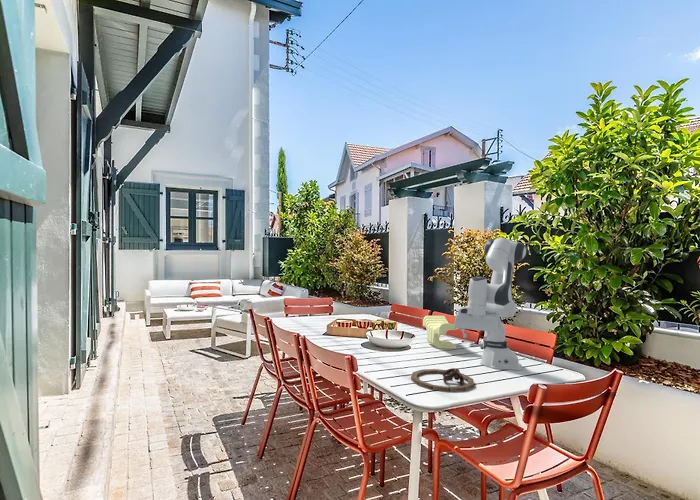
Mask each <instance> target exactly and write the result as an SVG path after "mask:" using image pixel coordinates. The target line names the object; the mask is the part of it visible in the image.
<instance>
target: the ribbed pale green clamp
mask: <svg viewBox="0 0 700 500" xmlns="http://www.w3.org/2000/svg"><path fill="white" fill-rule="evenodd" d="M422 327H425V329H426V336H427V337H426V341H427V342H428V343H429V344H430V345H431V346H433V347H434V348H436V349H457V346H456V344H454V343H453V342H452V341H449V340H440V337H441V336H446V335H447V333H448V331H457V330H462V329H461V328H455V326H454V323H449V321H448V320H447V318H446V316H445V315H425V316H424V317H423V319H422Z"/></svg>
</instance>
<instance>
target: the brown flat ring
mask: <svg viewBox="0 0 700 500" xmlns="http://www.w3.org/2000/svg"><path fill="white" fill-rule="evenodd" d="M447 370H448V369H441V368H440V369H439V368H429V369H419V370H416V371H412V374H411V376H410V380H411V382H413V383H414V384H415V385H417V386H420V387H422V388H426V389H429V390H433V391H441V392H446V393H447V392H448V393H449V392H451V393H455V392H467V391H469V390H471V389H474V387H475V385H474V384H475V383H474V381H475V380H474V379H473V378H472V377H470V376H469V375H466V374H465V373H461V372H460V373H461V374H462V376H463V379H464V382H467V383H466V384H465V385H462V384H461V385H454V386H447V385H440V384H439V385H437V384H432V383H428V382H426V381H423V380H421V379H420V378H418V377H419V376H422V375H426V374H427V375H428V374H432V375H433V374H440V375H443V374H444V372H445V371H447ZM450 374H452V372H450V373H448V374H447V375H450ZM444 375H445V374H444ZM447 375H446V376H447Z"/></svg>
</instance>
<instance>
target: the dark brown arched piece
mask: <svg viewBox="0 0 700 500" xmlns="http://www.w3.org/2000/svg"><path fill="white" fill-rule="evenodd" d="M446 370H447V371H445V372H444V374H442V377H443V378H442V381H443V382H444V383H446V382H449V381H450V382H453V381H454V380H455V381H459V382H460V383H461V386H462V385H465V380H464V379H463V376H462V374H463V373H462V374H461V372H460V369H459V368H453V367H452V368H451V367H450V368H449V369H446ZM450 372H452V374H450V375H447V374H448V373H450ZM453 379H454V380H453Z"/></svg>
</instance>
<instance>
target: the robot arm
mask: <svg viewBox="0 0 700 500" xmlns="http://www.w3.org/2000/svg"><path fill="white" fill-rule="evenodd" d="M483 249H484V254H485V256H486V257H485V263H486V265H487V267H489V269H491V270H492V274H491V278H490V283H488V280H487V277H485V276H479V275H478V276H473V277H470V279H469V285H468V292H467V296H468V301H467V305H466V306H460V307H458V309H457V313H456V314H455V319H454V323H453V324H454V326H455V328H461V329H460V330H461V332H462V334H463V339H467V338H468V336H467V333H465V330H473V331H481V332H484V336H483V341H482V348H483V352H482V356H481V360H480V364H481V365H483V366H486V367H489V368H491V369H494V370H511V371H521V370H523V365H522V364H521V363H520V362H519V357H518V355H517V354H516V353H514V352H513V350H511V349H510V348H509V347H511V344H510V343H509V342H508V341H506V326H505V325H504V323H503V322H502V320H501V318H506V319H507V318H511V317H513V316H515V314H516V312H517V305H516V302H515V301H514V300H513V296H512V285H513V277H514V276H513V275H514V271H515V270H514V269H515V264H518V262H521V261H523V260H524V258H525V257H526V255H527V247H526V245H525V244H524V243H522V242H520V241H513V240H510V239H509V240H508V239H507V238H504V237H499V238H496V239H495V238H490V239H488V240H486V242H485V244H484V247H483Z"/></svg>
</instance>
